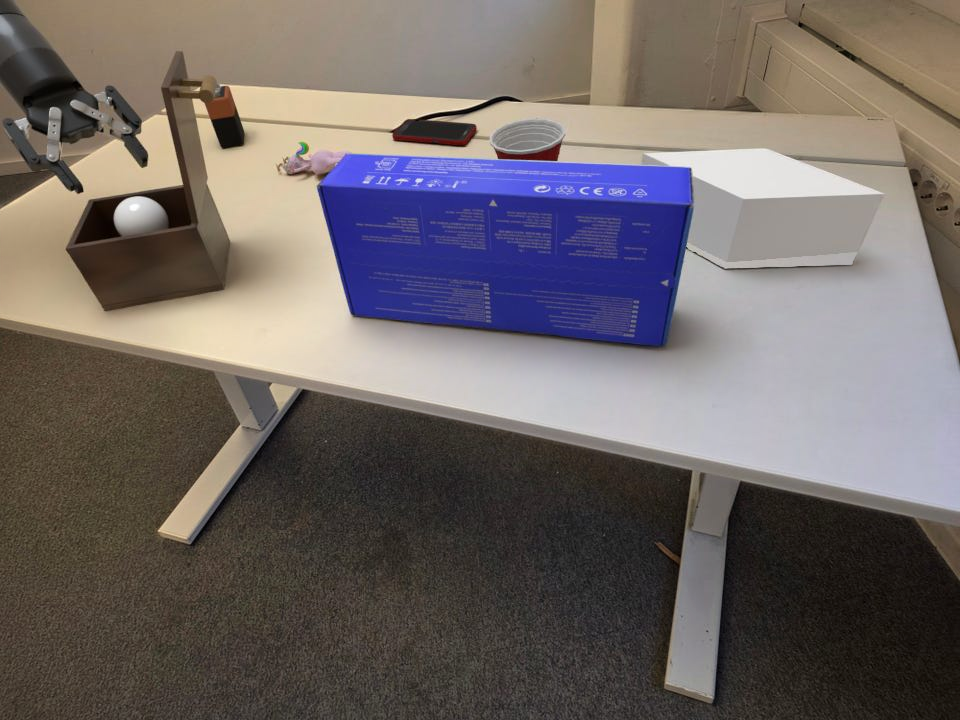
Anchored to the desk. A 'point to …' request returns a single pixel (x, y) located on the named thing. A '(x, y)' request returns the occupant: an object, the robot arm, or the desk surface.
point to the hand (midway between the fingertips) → (114, 177)
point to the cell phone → (435, 132)
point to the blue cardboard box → (511, 243)
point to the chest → (150, 251)
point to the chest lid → (187, 128)
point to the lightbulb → (139, 216)
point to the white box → (771, 205)
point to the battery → (225, 118)
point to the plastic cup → (528, 140)
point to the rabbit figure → (312, 161)
